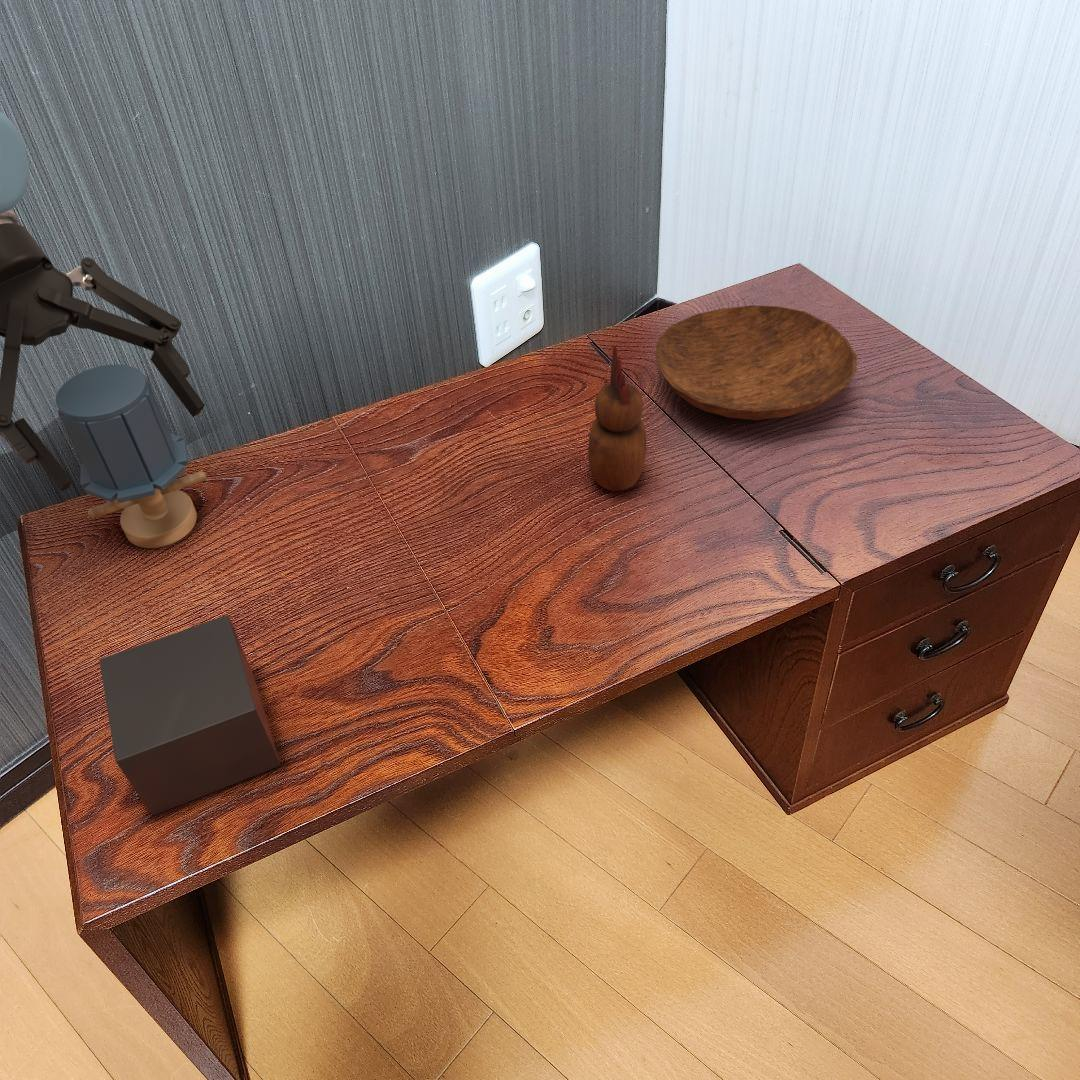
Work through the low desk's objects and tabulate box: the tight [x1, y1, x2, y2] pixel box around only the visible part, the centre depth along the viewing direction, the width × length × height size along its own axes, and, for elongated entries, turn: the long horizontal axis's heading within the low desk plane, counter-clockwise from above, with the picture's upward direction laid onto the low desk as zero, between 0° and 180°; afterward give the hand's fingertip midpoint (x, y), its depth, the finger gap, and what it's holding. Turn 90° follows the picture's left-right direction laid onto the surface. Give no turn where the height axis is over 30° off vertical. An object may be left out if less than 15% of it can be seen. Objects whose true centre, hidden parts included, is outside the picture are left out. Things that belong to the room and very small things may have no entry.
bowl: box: [654, 304, 858, 421], centre depth 104 cm, size 20×22×5 cm
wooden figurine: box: [587, 345, 647, 492], centre depth 91 cm, size 7×6×15 cm
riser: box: [99, 614, 282, 817], centre depth 73 cm, size 10×10×8 cm
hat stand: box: [87, 471, 208, 549], centre depth 88 cm, size 11×7×16 cm, turn 118°
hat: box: [55, 363, 189, 503], centre depth 85 cm, size 10×10×9 cm
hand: (136, 447), depth 84 cm, fingers open, 13 cm apart
